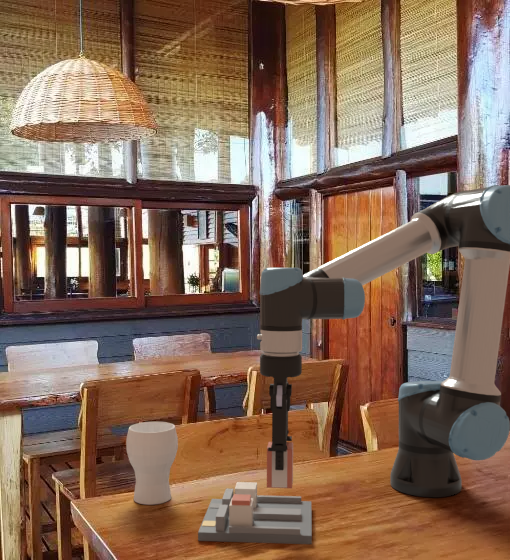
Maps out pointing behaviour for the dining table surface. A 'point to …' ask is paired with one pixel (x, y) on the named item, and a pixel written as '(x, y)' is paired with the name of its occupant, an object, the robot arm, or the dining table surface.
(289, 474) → the cap
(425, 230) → the robot arm
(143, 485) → the cup
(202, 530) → the panel
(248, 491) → the block
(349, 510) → the dining table surface
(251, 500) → the block
